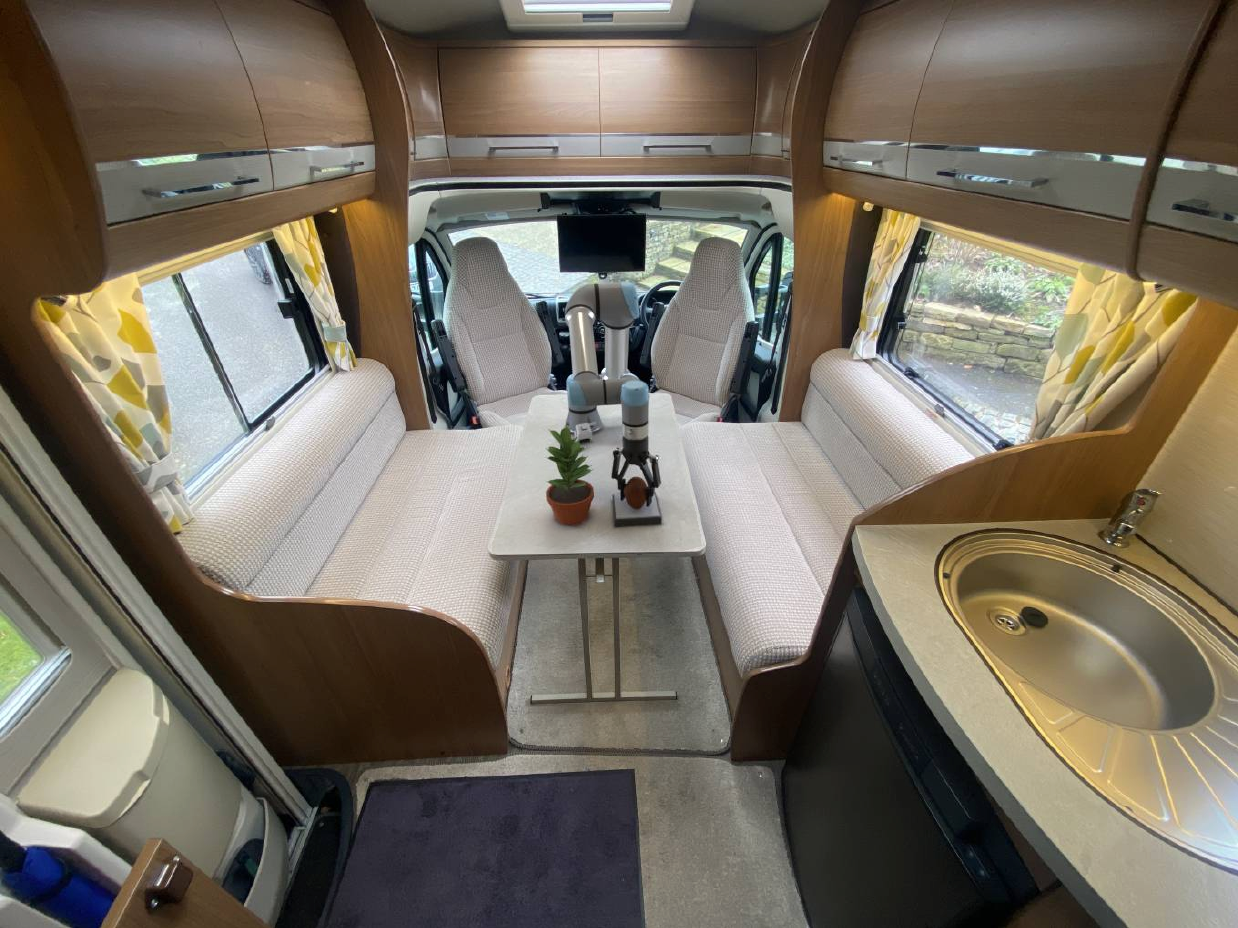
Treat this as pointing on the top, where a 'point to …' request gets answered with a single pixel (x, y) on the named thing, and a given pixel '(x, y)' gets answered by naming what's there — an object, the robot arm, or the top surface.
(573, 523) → the potted plant
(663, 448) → the top surface
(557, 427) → the top surface
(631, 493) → the potato
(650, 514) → the scale
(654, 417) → the top surface
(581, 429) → the tape dispenser
